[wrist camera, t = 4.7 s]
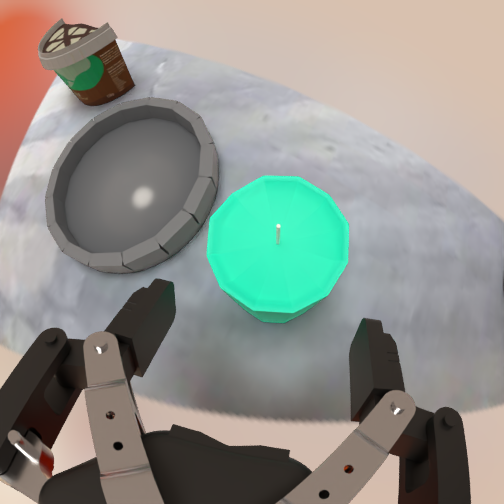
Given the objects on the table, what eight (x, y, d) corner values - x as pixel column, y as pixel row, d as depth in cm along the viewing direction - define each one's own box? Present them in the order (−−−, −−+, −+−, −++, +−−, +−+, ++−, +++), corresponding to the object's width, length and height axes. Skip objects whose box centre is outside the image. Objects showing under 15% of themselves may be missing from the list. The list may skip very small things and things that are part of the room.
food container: (57, 99, 30) (21, 52, 21) (90, 68, 32) (60, 18, 22) (103, 127, 28) (59, 65, 18) (142, 88, 29) (110, 22, 19)
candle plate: (187, 94, 28) (181, 75, 25) (248, 224, 24) (245, 210, 21) (56, 162, 27) (43, 149, 25) (78, 301, 23) (59, 297, 20)
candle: (306, 236, 23) (333, 145, 12) (324, 314, 22) (379, 290, 10) (228, 252, 23) (187, 172, 12) (242, 330, 22) (208, 325, 10)
